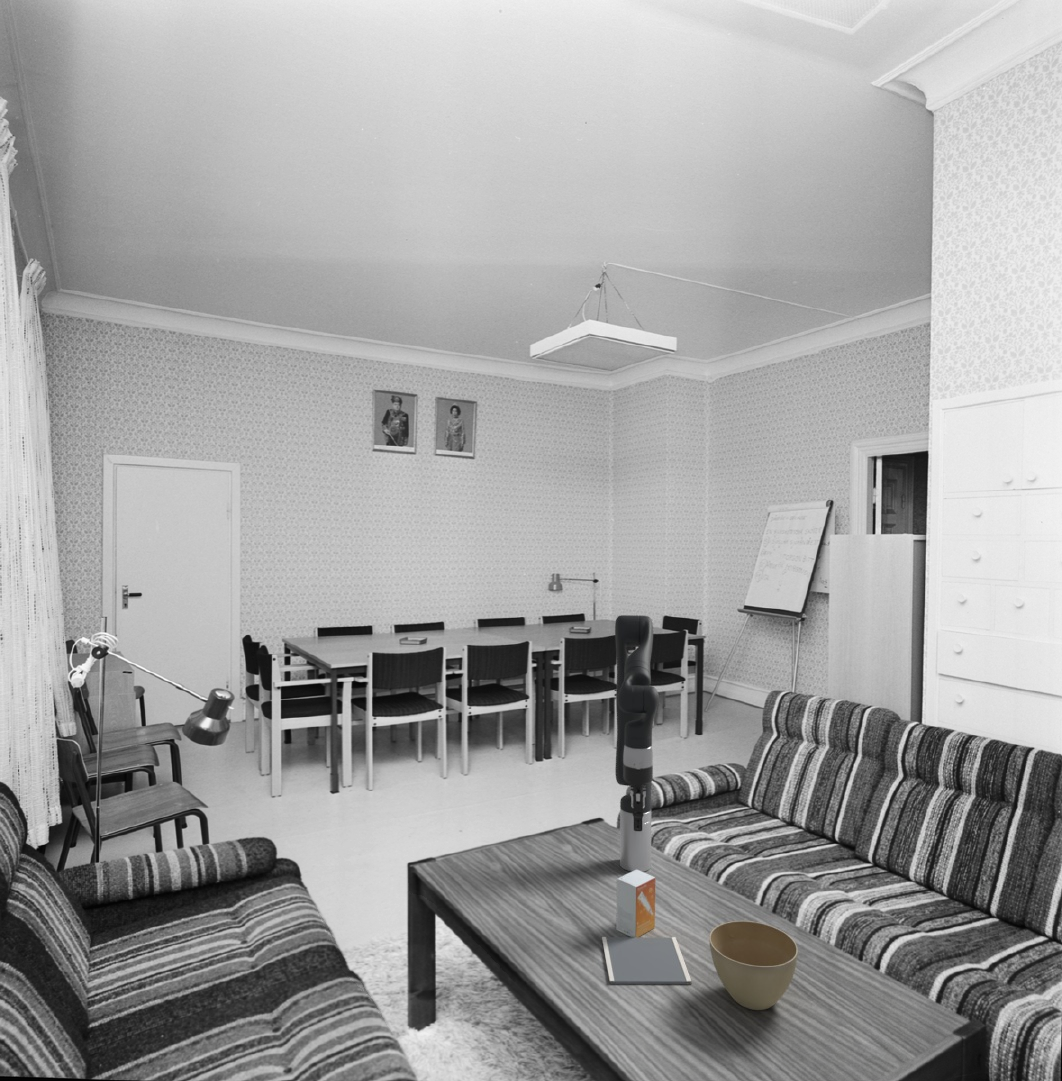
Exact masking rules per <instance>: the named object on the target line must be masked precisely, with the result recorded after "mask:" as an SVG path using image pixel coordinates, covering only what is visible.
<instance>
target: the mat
mask: <svg viewBox="0 0 1062 1081" xmlns="http://www.w3.org/2000/svg"><path fill="white" fill-rule="evenodd" d="M601 942H602V948H603V952H604V953H603V954H604V959H605V960H604V961H605V964H606V968H607V969H606V971H607V975H608V983H609V985H692V979H691V976H690V974H689V971H688V968H687V965H686V963H685V959H684V957H683V954H682V952H681V948H680V945H679V943H678V941H677V937H676V936H671V937H648V936H647V937H643V936H640V937H630V936H627V937H619V936H618V937H615V936H614V937H613V936H611V937H608V936H602V937H601Z"/></svg>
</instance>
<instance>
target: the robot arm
mask: <svg viewBox="0 0 1062 1081" xmlns="http://www.w3.org/2000/svg"><path fill="white" fill-rule="evenodd" d="M614 624H615V626H614V638H615V653H616V654H615V656H616V689H615V690H616V694H615V696H616V697H615V698H616V699H615V701H616V703H615V704H616V747H615V748H616V750H615V751H616V752H615V769H614V770H615V771H614V773H615V778H616V783H617V784H618V785H620V786H627V787H629V788H630V789H629V790H630V793H628V794H624V795H623V796H622V797H621V798H620V802H619V804H620V805H619V806H620V807H619V808H620V810H619V814H620V815H619V818H620V819H619V820H620V823H619V824H620V825H619V828H620V829H619V831H620V832H619V833H620V834H619V865H620V868H622V869H623V870H625V871H628V872H632V871H634V870H639V871H642V872H644V873H645V872H647V871H650V869H651V868H652V783H653V779H654V775H653V774H654V773H653V772H654V770H653V769H654V768H653V767H654V761H653V760H654V758H653V757H654V755H653V754H654V752H653V725H654V720H655V716H656V713H657V710H658V707H659V702H660V695H659V694H660V693H659V691H658V689H657V688H656V687H654V686H652V685H651V683H652V678H651V677H652V675H651V659H652V653H653V642H654V623H653V620H652V619H651V617H650V616H648V615H633V614H632V615H631V614H630V615H629V614H626V615H625V614H622V615H619V616H617V617H616V620H615V623H614ZM627 647H630V648H632V647H633V648H634V647H635V650H634V651H633V652H631V654H628V651H627Z"/></svg>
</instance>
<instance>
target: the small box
mask: <svg viewBox="0 0 1062 1081" xmlns="http://www.w3.org/2000/svg"><path fill="white" fill-rule="evenodd" d="M615 922H616V928H615V929H616V931H618V932H620V933H621V934H624V935H626V936H627V937H642V936H643V935H645V934H646V933H649V932H650V931H652V930H654V929H655V928H656V927H655V926H656V877H655V876H653V875H650V874H648V873H646V872H645V871H644V872H642V871H639V870H634V871H632V872H631V871H629V872H628V873H625V874H624V875H622V876H620V877H618V878H616V921H615Z"/></svg>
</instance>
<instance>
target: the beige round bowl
mask: <svg viewBox="0 0 1062 1081" xmlns="http://www.w3.org/2000/svg"><path fill="white" fill-rule="evenodd" d="M708 940H709V949H710V954H711V959H712V962H713V963H712V964H713V966H714V968H715V971H716V973H717V974H716V975H718V977H719V980H720V981H721V983H722V985H723V987H724V988H725V990H726V991H727V992H728V994H729V995H730V996H731V998H732V999H733V1000H734V1001H735V1002H736V1003H737V1004H738V1005H740V1006H741V1007H744V1008H746V1009H748V1010H749V1009H750V1010H753V1011H754V1010H755V1011H763V1010H767V1009H770V1008H772V1007H773V1006H774V1005H775V1004H776V1003H777V1002H778V1001H779V1000H780V999H781V998H782V997H783V996H784V994H785V993H786V992H787V990H788V989H789V987H790V984H792V980H793V977H794V975H795V971H796V967H797V961H798V955H799V952H798V949H799V948H798V945H797V943H796V941H795V940H794V939H793V938H792V937H791V936H790V935H789V934H788V933H786V932H785V931H783V930H781V929H779V928H777V927H775V926H772V925H769V924H766V923H762V922H757V921H752V920H750V921H749V920H735V921H728V922H724V923H721V924H719V925H717V926H715V927H714V928H713V929H712V930H711V931H710V933H709V939H708Z"/></svg>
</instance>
